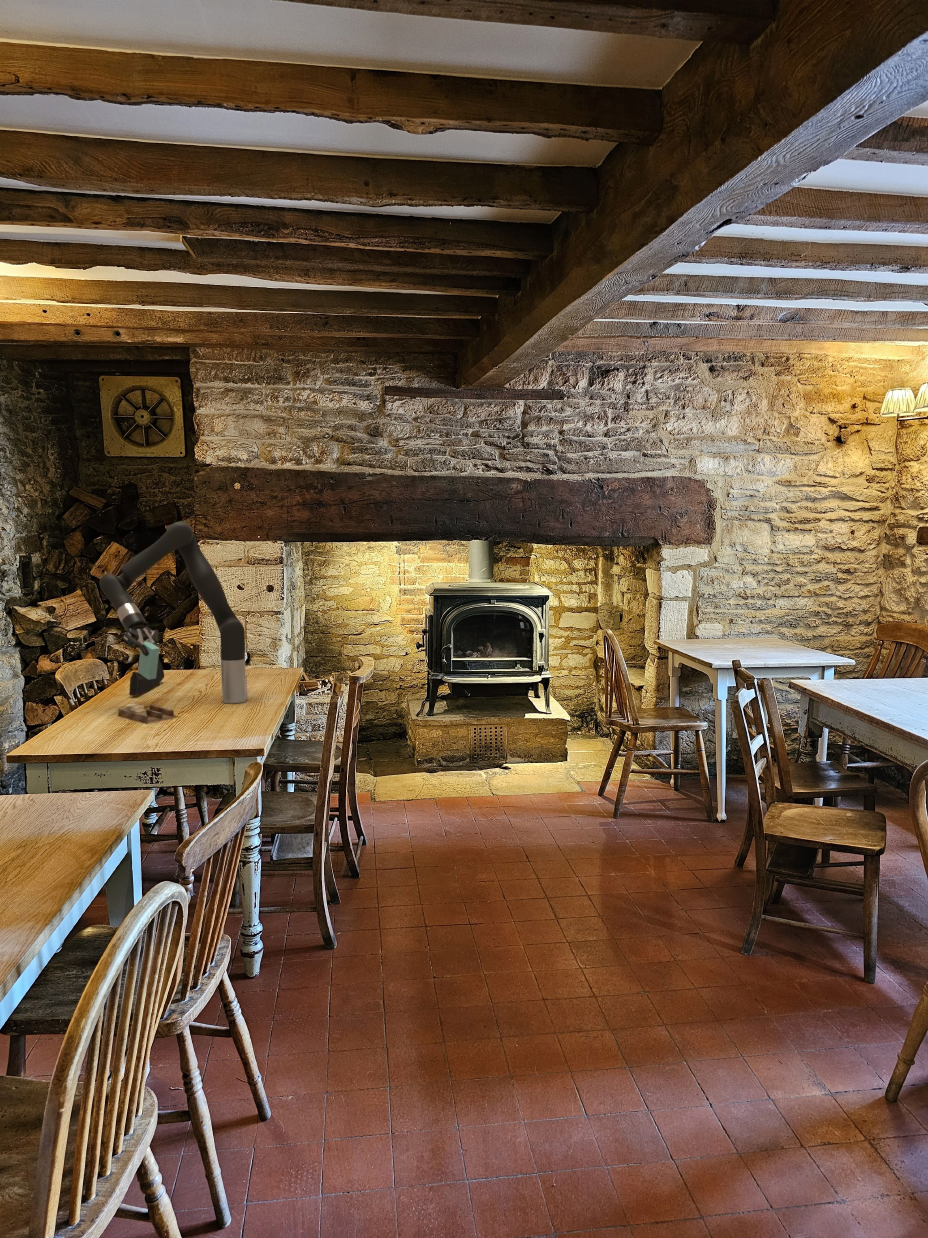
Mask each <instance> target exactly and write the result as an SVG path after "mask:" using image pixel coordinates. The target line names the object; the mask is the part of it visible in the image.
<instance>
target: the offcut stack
mask: <svg viewBox="0 0 928 1238" xmlns="http://www.w3.org/2000/svg"><path fill="white" fill-rule="evenodd" d="M144 708H145V707H144V705H142V704H138V703H130V704H125V710H126V711H130V712H133V713H137V714H141V715H144V716H147V714H146V710H144Z"/></svg>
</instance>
